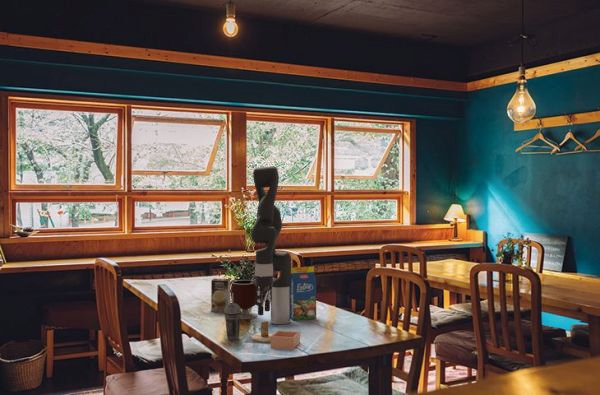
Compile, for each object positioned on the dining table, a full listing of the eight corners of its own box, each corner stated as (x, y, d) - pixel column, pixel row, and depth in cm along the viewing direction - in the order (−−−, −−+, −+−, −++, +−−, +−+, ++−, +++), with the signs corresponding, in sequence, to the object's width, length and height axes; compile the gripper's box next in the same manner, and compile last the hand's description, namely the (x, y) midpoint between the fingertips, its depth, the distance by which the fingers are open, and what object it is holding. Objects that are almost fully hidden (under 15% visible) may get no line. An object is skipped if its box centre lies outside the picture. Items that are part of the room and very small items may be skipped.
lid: (256, 335, 255) (256, 318, 255) (281, 336, 252) (281, 319, 252) (247, 341, 245) (247, 324, 244) (273, 343, 242) (273, 325, 242)
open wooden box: (277, 342, 245) (277, 330, 245) (300, 344, 242) (300, 331, 242) (270, 348, 236) (270, 336, 235) (293, 350, 233) (293, 337, 233)
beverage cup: (242, 337, 253) (242, 290, 252) (241, 342, 245) (240, 294, 245) (225, 338, 252) (224, 291, 252) (223, 342, 245) (223, 294, 245)
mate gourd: (225, 317, 292) (225, 277, 291) (240, 312, 304) (240, 273, 303) (252, 321, 284) (251, 279, 284) (267, 315, 297) (266, 275, 296)
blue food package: (316, 318, 289) (316, 267, 289) (293, 320, 285) (293, 268, 284) (311, 316, 295) (311, 265, 294) (288, 318, 291) (288, 267, 290)
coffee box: (210, 311, 306) (210, 280, 306) (213, 308, 313) (213, 278, 313) (228, 311, 306) (227, 280, 305) (230, 309, 312) (230, 278, 312)
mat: (254, 335, 257) (254, 333, 257) (285, 337, 254) (285, 335, 254) (243, 343, 244) (243, 342, 244) (275, 345, 240) (275, 344, 240)
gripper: (261, 271, 256) (261, 309, 256) (249, 276, 242) (249, 316, 242) (277, 272, 254) (277, 310, 254) (267, 277, 240) (267, 317, 240)
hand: (264, 313), depth 248 cm, fingers open, 8 cm apart
